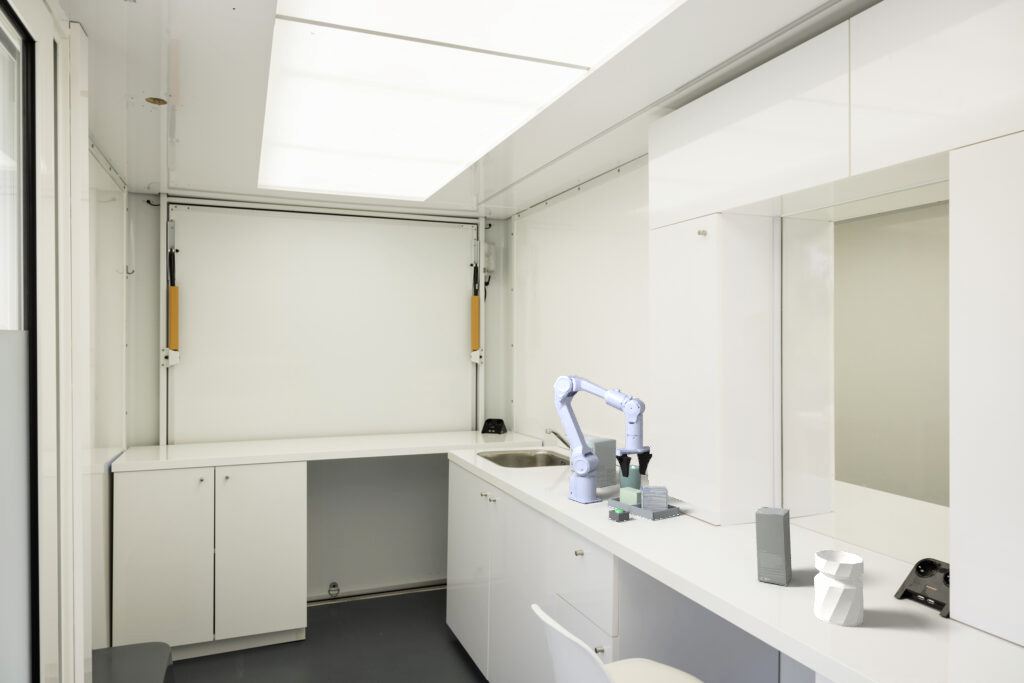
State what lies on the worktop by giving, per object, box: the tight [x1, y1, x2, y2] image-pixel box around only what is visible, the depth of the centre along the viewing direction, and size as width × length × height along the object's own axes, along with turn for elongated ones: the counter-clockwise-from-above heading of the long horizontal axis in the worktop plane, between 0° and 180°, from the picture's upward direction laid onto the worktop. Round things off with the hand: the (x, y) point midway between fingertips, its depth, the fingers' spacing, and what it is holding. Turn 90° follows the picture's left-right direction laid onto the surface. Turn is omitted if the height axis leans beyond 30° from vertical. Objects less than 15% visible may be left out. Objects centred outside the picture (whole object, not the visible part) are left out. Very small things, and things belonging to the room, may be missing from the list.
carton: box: [619, 487, 641, 505], centre depth 212 cm, size 8×4×6 cm, turn 33°
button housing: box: [608, 509, 630, 522], centre depth 197 cm, size 4×4×2 cm
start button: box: [614, 508, 623, 513], centre depth 197 cm, size 3×3×3 cm
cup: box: [618, 464, 642, 490], centre depth 231 cm, size 8×8×10 cm
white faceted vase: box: [813, 549, 865, 627], centre depth 126 cm, size 9×9×12 cm
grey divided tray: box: [607, 496, 680, 521], centre depth 208 cm, size 21×12×2 cm, turn 33°
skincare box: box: [754, 506, 793, 587], centre depth 147 cm, size 8×7×16 cm
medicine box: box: [640, 485, 669, 512], centre depth 204 cm, size 8×4×9 cm, turn 84°
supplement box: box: [569, 435, 617, 489], centre depth 249 cm, size 13×13×18 cm
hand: (634, 475), depth 213 cm, fingers open, 7 cm apart
